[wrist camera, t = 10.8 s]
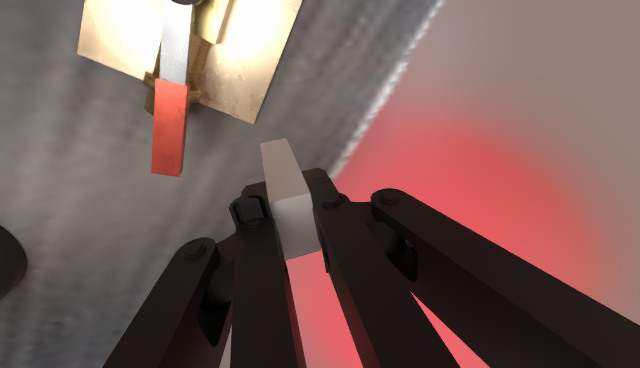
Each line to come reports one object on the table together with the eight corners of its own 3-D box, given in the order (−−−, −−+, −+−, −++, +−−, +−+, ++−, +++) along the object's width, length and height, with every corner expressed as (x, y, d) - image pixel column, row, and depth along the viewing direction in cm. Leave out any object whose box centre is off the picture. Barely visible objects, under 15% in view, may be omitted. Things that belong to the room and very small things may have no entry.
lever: (160, -56, 19) (152, -64, 17) (210, -37, 20) (206, -43, 18) (150, 165, 25) (144, 172, 24) (188, 171, 26) (184, 178, 25)
